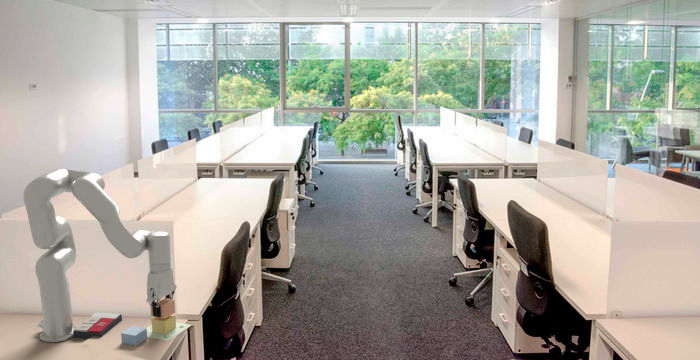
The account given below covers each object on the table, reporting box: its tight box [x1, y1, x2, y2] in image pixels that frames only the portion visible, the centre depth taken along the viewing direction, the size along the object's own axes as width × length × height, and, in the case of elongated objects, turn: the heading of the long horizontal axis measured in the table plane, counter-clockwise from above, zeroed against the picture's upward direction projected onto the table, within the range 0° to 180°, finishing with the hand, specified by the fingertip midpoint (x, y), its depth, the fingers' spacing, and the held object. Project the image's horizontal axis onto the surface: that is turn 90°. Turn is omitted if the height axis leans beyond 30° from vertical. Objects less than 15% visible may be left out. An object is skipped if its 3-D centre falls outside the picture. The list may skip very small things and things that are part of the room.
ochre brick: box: [150, 313, 177, 334], centre depth 220 cm, size 6×6×5 cm
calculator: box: [73, 311, 123, 340], centre depth 222 cm, size 11×4×15 cm
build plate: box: [146, 321, 192, 342], centre depth 220 cm, size 14×14×1 cm
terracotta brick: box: [149, 297, 176, 319], centre depth 219 cm, size 6×6×5 cm
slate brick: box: [120, 325, 148, 347], centre depth 212 cm, size 6×6×5 cm
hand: (162, 312), depth 219 cm, fingers closed on terracotta brick, 5 cm apart
